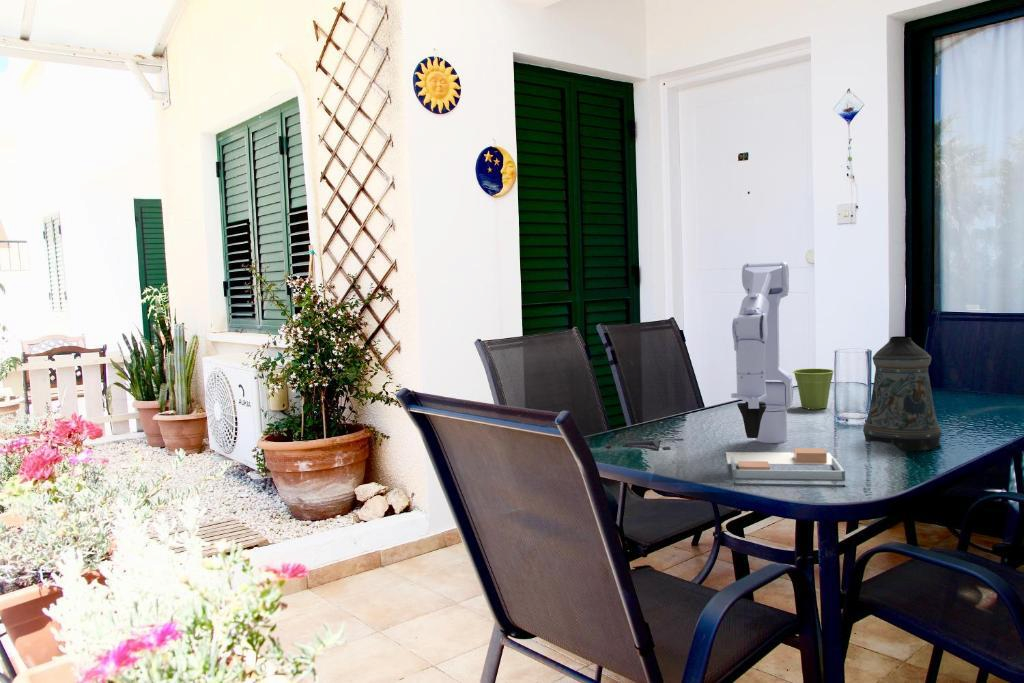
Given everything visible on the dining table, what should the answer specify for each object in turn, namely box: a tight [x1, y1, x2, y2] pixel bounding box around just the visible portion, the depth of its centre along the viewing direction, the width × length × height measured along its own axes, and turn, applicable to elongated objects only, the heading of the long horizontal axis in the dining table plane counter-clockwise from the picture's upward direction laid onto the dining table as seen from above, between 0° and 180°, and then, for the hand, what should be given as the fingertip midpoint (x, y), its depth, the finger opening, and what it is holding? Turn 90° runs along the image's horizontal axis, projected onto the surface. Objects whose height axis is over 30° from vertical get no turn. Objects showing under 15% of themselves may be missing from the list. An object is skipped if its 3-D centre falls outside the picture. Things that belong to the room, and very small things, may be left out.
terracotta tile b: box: [792, 447, 828, 463], centre depth 169 cm, size 5×6×2 cm
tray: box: [730, 457, 846, 488], centre depth 161 cm, size 12×21×3 cm, turn 77°
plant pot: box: [792, 367, 835, 410], centre depth 240 cm, size 12×12×11 cm
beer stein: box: [862, 335, 943, 451], centre depth 188 cm, size 16×19×25 cm
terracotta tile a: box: [737, 461, 771, 470], centre depth 164 cm, size 5×6×2 cm
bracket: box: [624, 438, 684, 452], centre depth 192 cm, size 14×15×3 cm
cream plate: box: [725, 451, 834, 466], centre depth 172 cm, size 11×22×2 cm, turn 77°
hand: (752, 437), depth 166 cm, fingers closed
